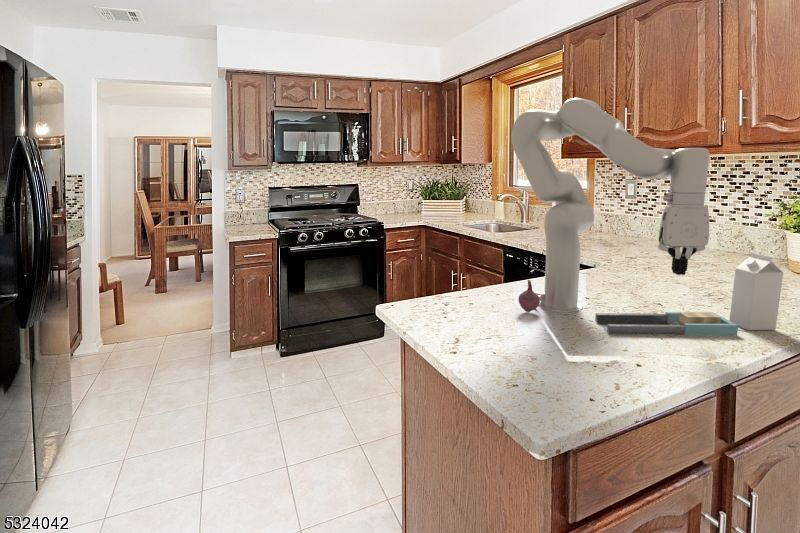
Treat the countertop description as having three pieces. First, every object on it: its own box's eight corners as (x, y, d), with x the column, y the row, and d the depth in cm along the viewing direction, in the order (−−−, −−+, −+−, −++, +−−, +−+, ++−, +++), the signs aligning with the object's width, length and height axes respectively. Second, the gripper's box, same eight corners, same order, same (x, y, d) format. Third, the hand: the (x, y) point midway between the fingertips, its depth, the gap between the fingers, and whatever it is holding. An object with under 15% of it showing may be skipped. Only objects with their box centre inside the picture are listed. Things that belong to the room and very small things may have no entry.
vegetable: (537, 310, 144) (538, 277, 142) (541, 316, 138) (542, 282, 136) (516, 309, 144) (517, 277, 142) (519, 315, 138) (520, 282, 136)
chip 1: (686, 332, 121) (687, 317, 120) (678, 327, 125) (679, 312, 124) (702, 332, 120) (704, 317, 119) (694, 327, 124) (696, 312, 123)
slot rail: (608, 337, 119) (609, 326, 118) (594, 323, 130) (595, 313, 129) (684, 338, 117) (685, 326, 117) (664, 324, 128) (665, 313, 128)
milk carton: (754, 321, 129) (763, 252, 125) (775, 330, 122) (785, 257, 118) (728, 322, 129) (737, 253, 125) (748, 331, 122) (757, 257, 118)
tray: (684, 338, 117) (686, 324, 117) (664, 324, 128) (665, 312, 127) (736, 339, 116) (738, 325, 116) (711, 325, 127) (713, 312, 126)
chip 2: (702, 332, 120) (704, 317, 120) (694, 327, 124) (695, 312, 124) (719, 332, 120) (721, 317, 119) (710, 327, 124) (712, 312, 123)
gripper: (661, 201, 114) (653, 276, 117) (727, 200, 112) (718, 277, 116) (647, 199, 121) (641, 270, 124) (710, 198, 119) (702, 270, 123)
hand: (678, 273), depth 120 cm, fingers closed
